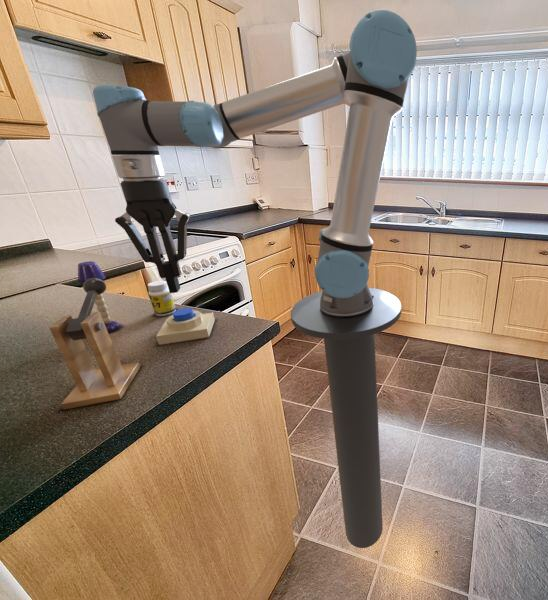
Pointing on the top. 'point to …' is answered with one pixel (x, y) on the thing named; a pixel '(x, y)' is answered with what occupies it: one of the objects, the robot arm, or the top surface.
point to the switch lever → (85, 307)
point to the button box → (186, 328)
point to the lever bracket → (89, 380)
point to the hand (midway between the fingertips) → (175, 290)
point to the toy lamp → (93, 271)
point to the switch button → (183, 314)
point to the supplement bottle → (161, 298)
